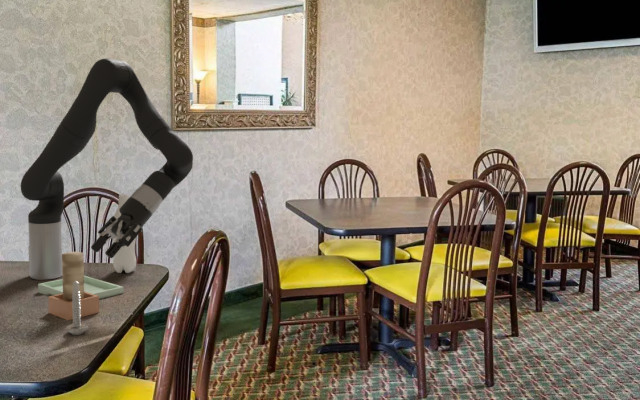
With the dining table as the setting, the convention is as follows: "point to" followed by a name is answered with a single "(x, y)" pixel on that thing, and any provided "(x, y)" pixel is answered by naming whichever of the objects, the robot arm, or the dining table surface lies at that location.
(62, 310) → the terracotta holder
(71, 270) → the birch pin
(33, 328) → the dining table surface
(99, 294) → the pale green tray
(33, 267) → the robot arm
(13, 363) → the dining table surface
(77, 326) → the screw
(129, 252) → the water bottle
